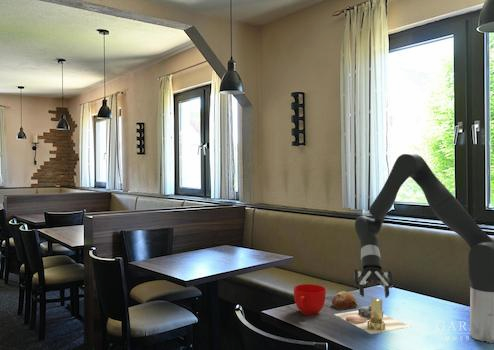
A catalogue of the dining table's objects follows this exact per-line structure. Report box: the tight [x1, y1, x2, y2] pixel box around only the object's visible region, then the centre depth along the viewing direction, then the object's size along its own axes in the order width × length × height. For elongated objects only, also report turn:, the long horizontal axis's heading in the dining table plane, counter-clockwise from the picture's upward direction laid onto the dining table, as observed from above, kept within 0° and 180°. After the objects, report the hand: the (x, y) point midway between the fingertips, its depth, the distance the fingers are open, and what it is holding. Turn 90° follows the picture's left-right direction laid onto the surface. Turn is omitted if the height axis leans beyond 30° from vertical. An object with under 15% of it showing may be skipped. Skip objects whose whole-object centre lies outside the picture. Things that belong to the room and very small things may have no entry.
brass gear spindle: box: [368, 297, 385, 330], centre depth 158 cm, size 6×6×10 cm
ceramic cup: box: [293, 283, 327, 316], centre depth 176 cm, size 13×17×10 cm
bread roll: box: [331, 290, 359, 310], centre depth 187 cm, size 10×10×8 cm
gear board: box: [333, 304, 412, 335], centre depth 165 cm, size 22×18×5 cm
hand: (374, 296), depth 162 cm, fingers open, 8 cm apart
